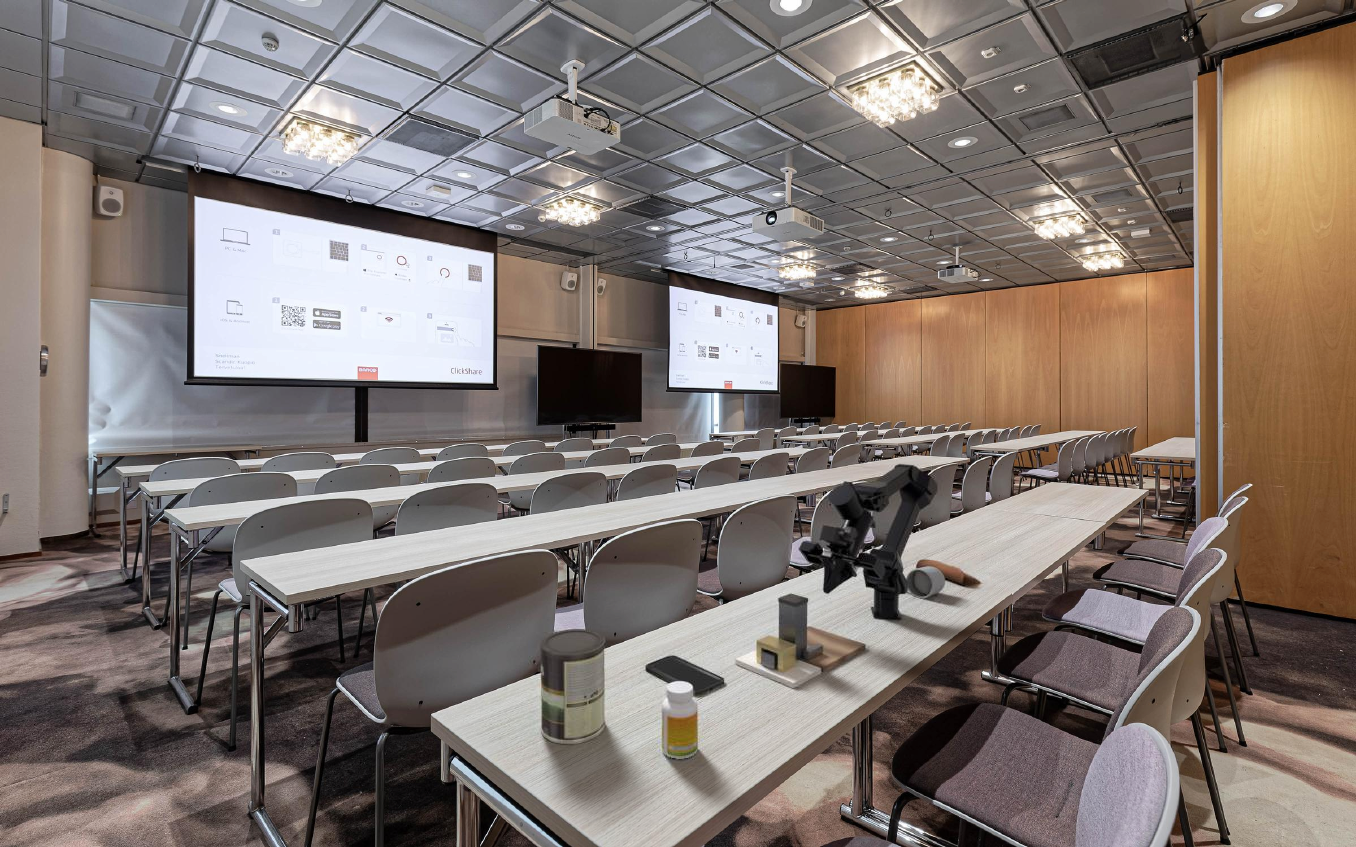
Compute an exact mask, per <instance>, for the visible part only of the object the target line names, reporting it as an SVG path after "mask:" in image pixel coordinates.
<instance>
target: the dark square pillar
mask: <svg viewBox="0 0 1356 847" xmlns="http://www.w3.org/2000/svg"><path fill="white" fill-rule="evenodd" d="M777 600H778V601H777V602H778V638H779V639H782V640H784V641H787V642H790V643H793V644H796V660H798V659H800V658H802V657H804V650H806V649H807V627H808V602H809V598H808V597H805V596H801V595H798V594H794V593H791V592H790V593H788V594H785V595H782V596H779V597H777ZM762 665H764V666H767V667H769V668H772V669H776V668H778V654H777V653H775V652H772V651H769V650H764V651H762Z"/></svg>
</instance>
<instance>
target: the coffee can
mask: <svg viewBox="0 0 1356 847" xmlns="http://www.w3.org/2000/svg"><path fill="white" fill-rule="evenodd" d="M605 647H606V637H605V636H604V635H603V634H601V633H600V632H598V631H595V630H591V629H585V628H574V629H573V628H572V629H564V630H559V631H556V632H553V633H550V634H548V635H546V636H544V637H543V638H542V639H541V641H540V643H539V650H540V694H541V695H540V696H541V697H540V698H541V699H540V701H541V703H540V704H541V706H540V709H541V713H540V714H541V716H540V717H541V718H540V719H541V722H540V723H541V727H540V732H541V735H542V736H543V738H544V739H547V741H549V742H552V743H554V744H560V745H577V744H582V743H586V742H589V741H591V740H593V739H594V738H596V737H599V736H600V734H601V733H602V732H603V731H604V729H605V727H606V720H605V719H606V716H605V715H606V713H605V710H606V708H605V695H606V694H605V689H606V688H605V687H606V685H605V679H606V678H605V665H606V664H605Z"/></svg>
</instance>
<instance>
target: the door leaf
mask: <svg viewBox="0 0 1356 847" xmlns="http://www.w3.org/2000/svg"><path fill="white" fill-rule="evenodd" d="M816 644H821V645H823V654H822V655H820V656H818V657H816V658H814V659H812V660H810V661H807V660H804V657H802V658H800V659H798V660H800V661H803V662H806V663H808V664H811V665H814V666H816V667H819V668H821V673H824V672H826V671H829V670H830V669H832V668H833V667H835V666H837V665H839V664H841V663H842V662H845V661H846V660H848V659H850V658H852V657H854V656H855V655H858V654H859V653H861V652H862V651H864V650H866V647H867V646H866V644H867V643H863V642H861V641H857V640H855V639H852V638H851V639H850V638H848V637H845V636H841V635H839V634H835V633H832V632H829V631H826V630H823V629H819V628H817V627H813V626H810V625H809V626H807V649H808V648H810V647H812V646H814V645H816Z"/></svg>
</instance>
